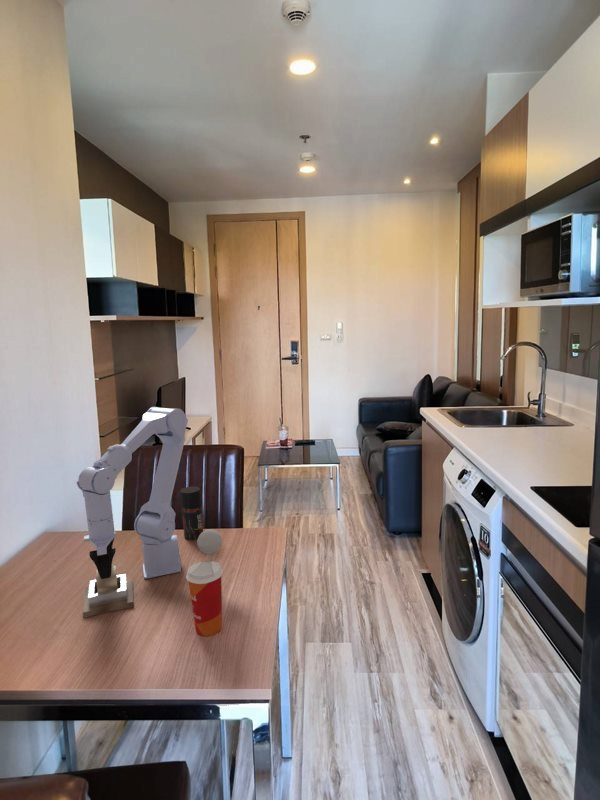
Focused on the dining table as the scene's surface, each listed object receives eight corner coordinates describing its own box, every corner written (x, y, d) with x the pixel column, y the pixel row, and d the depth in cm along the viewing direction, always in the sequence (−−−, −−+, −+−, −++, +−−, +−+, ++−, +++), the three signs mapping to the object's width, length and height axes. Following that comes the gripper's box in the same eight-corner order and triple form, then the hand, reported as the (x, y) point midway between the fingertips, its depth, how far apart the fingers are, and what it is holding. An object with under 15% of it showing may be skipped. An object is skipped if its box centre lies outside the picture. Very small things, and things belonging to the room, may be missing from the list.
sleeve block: (118, 587, 126) (115, 565, 125) (118, 596, 122) (115, 573, 121) (99, 591, 124) (96, 569, 123) (98, 600, 120) (95, 577, 119)
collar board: (132, 582, 131) (130, 569, 130) (133, 606, 119) (132, 592, 119) (86, 591, 127) (84, 578, 126) (83, 617, 116) (81, 602, 115)
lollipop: (213, 595, 122) (209, 537, 120) (195, 589, 126) (191, 532, 123) (230, 584, 128) (226, 527, 125) (212, 578, 131) (208, 523, 128)
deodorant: (199, 540, 154) (195, 493, 151) (181, 539, 155) (177, 492, 153) (206, 532, 160) (203, 486, 157) (189, 531, 161) (185, 486, 158)
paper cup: (195, 618, 113) (190, 560, 111) (229, 617, 113) (225, 559, 111) (186, 640, 106) (181, 578, 103) (223, 639, 105) (218, 577, 103)
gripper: (83, 509, 125) (89, 560, 127) (79, 531, 112) (86, 588, 114) (113, 504, 127) (119, 555, 130) (113, 525, 114) (119, 581, 116)
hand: (106, 570), depth 122 cm, fingers open, 7 cm apart
